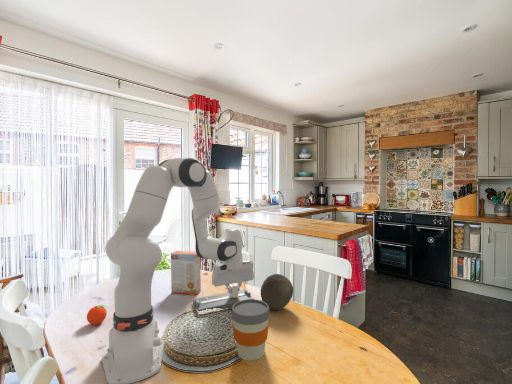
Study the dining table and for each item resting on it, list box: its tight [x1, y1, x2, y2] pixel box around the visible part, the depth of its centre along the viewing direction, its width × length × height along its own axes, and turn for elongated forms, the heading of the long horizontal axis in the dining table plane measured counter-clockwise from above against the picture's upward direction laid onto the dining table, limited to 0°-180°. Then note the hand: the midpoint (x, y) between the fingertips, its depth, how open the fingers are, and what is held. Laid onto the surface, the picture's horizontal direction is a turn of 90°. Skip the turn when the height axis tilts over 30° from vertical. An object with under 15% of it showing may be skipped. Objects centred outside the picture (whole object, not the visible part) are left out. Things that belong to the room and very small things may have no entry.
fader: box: [228, 283, 238, 298], centre depth 126 cm, size 5×3×5 cm, turn 25°
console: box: [192, 288, 255, 311], centre depth 124 cm, size 12×26×4 cm, turn 115°
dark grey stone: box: [260, 273, 294, 311], centre depth 118 cm, size 14×14×15 cm
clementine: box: [86, 304, 108, 326], centre depth 107 cm, size 8×7×7 cm
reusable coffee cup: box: [231, 298, 270, 361], centre depth 88 cm, size 13×13×15 cm
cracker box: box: [170, 250, 202, 296], centre depth 138 cm, size 14×6×21 cm, turn 78°
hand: (233, 291), depth 126 cm, fingers closed on fader, 3 cm apart
